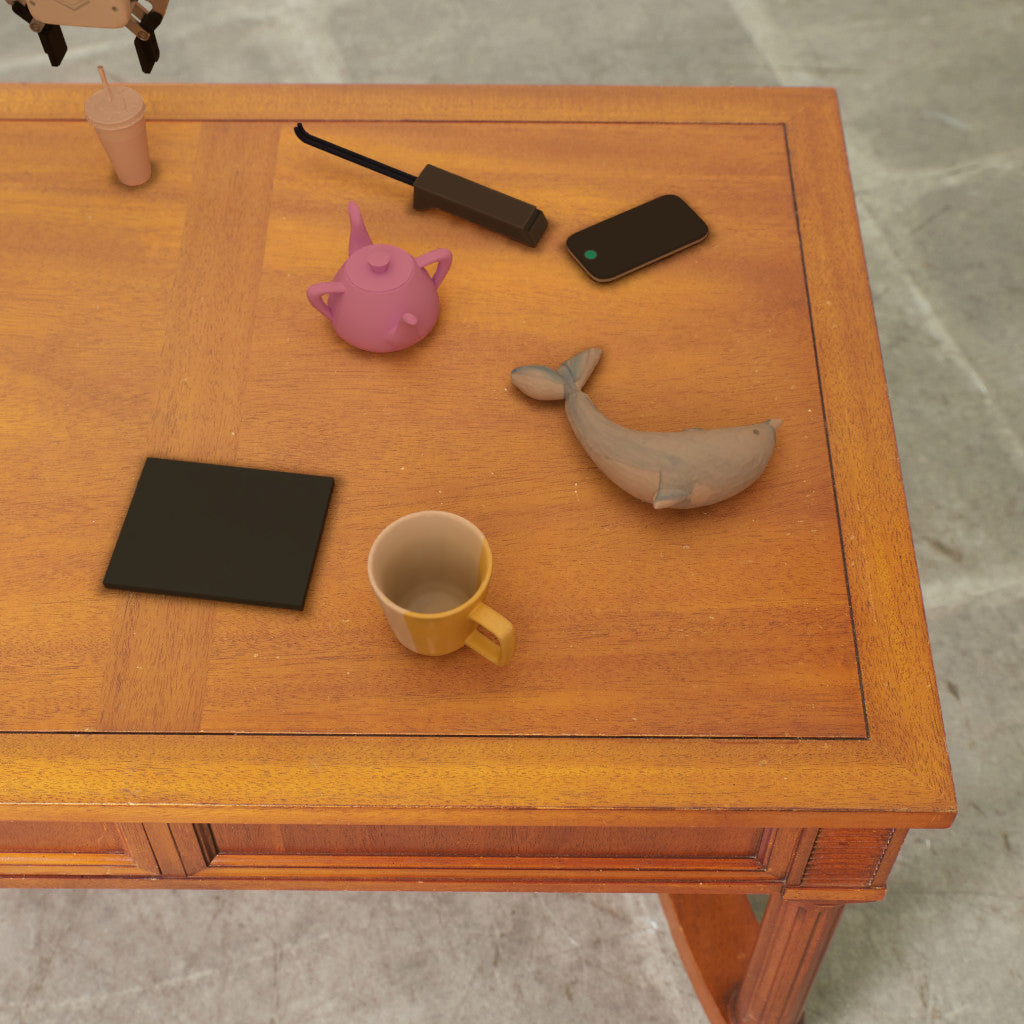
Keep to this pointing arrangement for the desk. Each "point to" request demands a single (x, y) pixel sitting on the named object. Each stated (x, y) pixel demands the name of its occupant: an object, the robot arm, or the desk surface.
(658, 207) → the smartphone
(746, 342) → the desk surface
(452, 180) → the hook tool
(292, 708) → the desk surface
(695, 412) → the desk surface
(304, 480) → the mat
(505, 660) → the mug
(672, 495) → the sculpture
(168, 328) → the desk surface
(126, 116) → the smoothie
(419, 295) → the teapot
